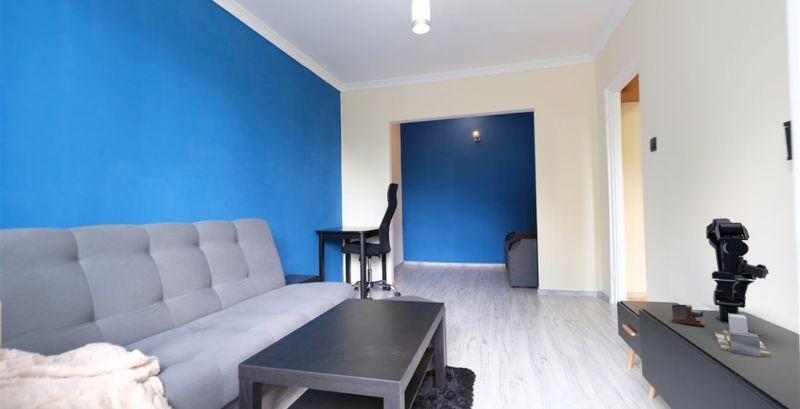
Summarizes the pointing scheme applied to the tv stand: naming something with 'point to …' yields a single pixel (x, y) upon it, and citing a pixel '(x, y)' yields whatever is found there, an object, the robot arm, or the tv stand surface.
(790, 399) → the tv stand surface
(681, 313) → the electronic device
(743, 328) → the white rectangular block
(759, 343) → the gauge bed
